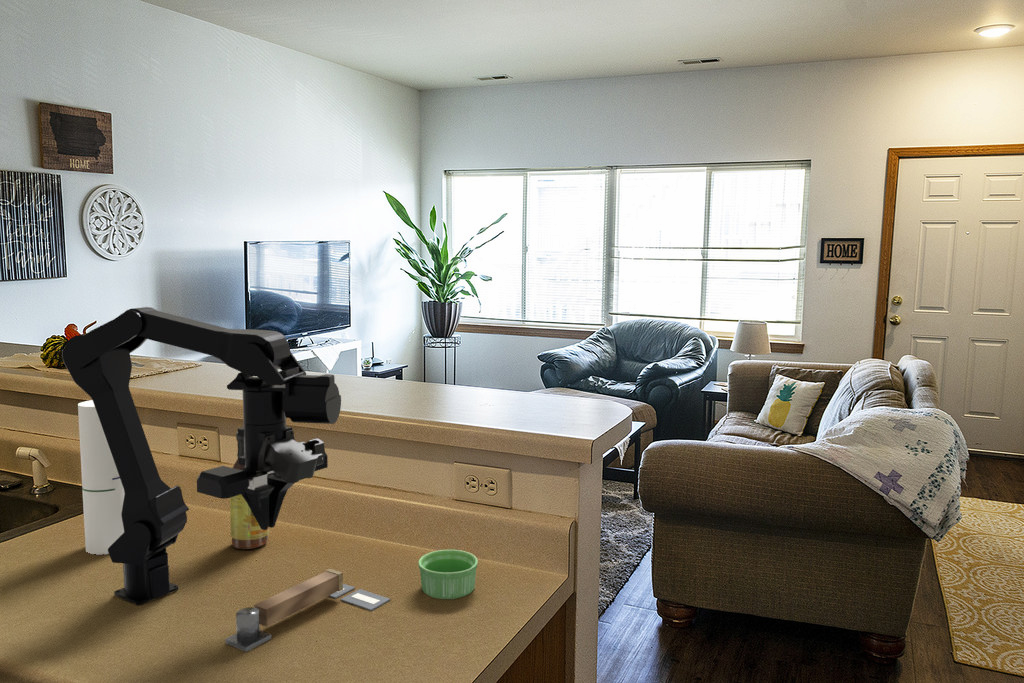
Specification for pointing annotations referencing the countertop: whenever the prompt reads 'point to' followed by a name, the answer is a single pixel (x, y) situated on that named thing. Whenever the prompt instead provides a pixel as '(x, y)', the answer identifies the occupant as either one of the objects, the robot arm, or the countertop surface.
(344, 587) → the label tile
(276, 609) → the bar
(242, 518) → the sauce bottle
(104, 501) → the cylindrical container
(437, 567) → the ramekin
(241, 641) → the post on base plate
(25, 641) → the countertop surface
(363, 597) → the label tile
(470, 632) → the countertop surface
